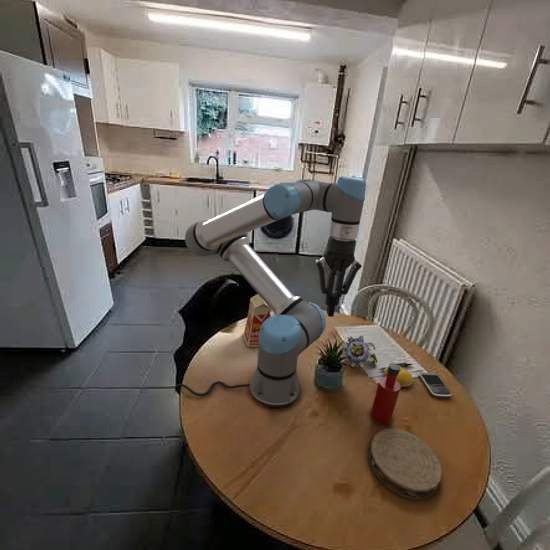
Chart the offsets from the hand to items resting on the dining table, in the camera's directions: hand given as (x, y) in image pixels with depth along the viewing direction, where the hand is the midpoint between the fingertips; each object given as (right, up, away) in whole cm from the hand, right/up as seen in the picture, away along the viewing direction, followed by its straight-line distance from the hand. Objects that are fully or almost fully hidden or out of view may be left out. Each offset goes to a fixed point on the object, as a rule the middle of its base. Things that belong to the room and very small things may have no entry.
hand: (329, 314), depth 92 cm
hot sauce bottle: (+14, -29, -3) cm, 32 cm away
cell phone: (+36, -25, +10) cm, 45 cm away
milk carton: (-23, -14, +27) cm, 38 cm away
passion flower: (+13, -20, +20) cm, 31 cm away
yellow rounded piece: (+25, -24, +13) cm, 37 cm away
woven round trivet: (+15, -35, -17) cm, 41 cm away
